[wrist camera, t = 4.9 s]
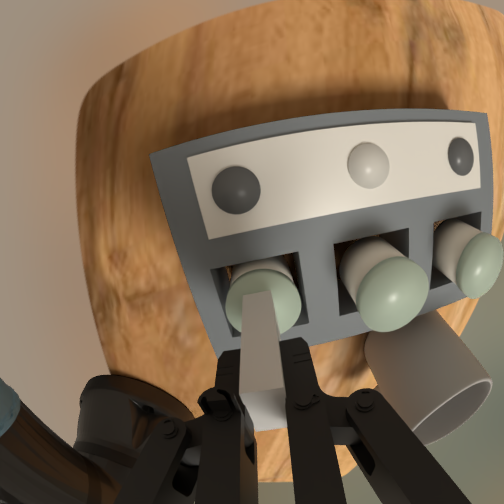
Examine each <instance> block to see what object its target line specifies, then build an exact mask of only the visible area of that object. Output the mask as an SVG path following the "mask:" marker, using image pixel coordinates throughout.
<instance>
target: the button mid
mask: <svg viewBox="0 0 504 504" xmlns="http://www.w3.org/2000/svg"><path fill="white" fill-rule="evenodd" d="M339 273H340V278H341V280H342V282H343V284H344V286H345V287H346V289H347V290H348V292H349V294H350V295H351V297H352V299H353V300H354V302H355V304H356V307H357V310H358V312H359V314H360V316H361V318H362V319H363V321H364V323H365V324H366V325H367V326H368V327H369V328H370V329H372V330H374V331H378V332H390V331H394V330H396V329H399V328H401V327H403V326H404V325H406V324H407V323H409V322H410V321H411V320H412V319H413V318H414V317H415V316H416V315H417V314H418V313H419V312H420V310H421V309H422V307H423V305H424V303H425V301H426V298H427V295H428V290H429V282H428V277H427V275H426V273H425V271H424V270H423V269H422V268H421V267H420V266H419V265H418V264H416V263H415V262H414V261H413V260H411V259H409V258H407V257H405V256H404V255H403V254H402V253H400V252H399V251H398V250H397V249H396V248H394V247H393V246H392V245H391V244H389V243H388V242H387V241H386V240H384V239H382V238H380V237H377V236H368V237H363V238H361V239H359V240H357V241H355V242H354V243H353V244H351V245H350V246H349V247H348V249H347V250H346V251H345V253H344V254H343V256H342V259H341V262H340V267H339Z"/></svg>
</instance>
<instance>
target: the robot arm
mask: <svg viewBox="0 0 504 504" xmlns="http://www.w3.org/2000/svg"><path fill="white" fill-rule="evenodd" d="M197 402H198V404H199V406H200V407H201V409H202V410H203V412H204V415H202V416H200V417H198V418H194V417H193V415H192V414H191V412H190V411H189V410H188V409H187V408H186V407H185V406H184V405H183V404H181V403H180V402H179V401H177V400H176V399H175V398H173V397H172V396H170V395H168V394H167V393H165V392H163V391H161V390H159V389H157V388H155V387H153V386H151V385H148V384H146V383H143V382H141V381H138V380H135V379H131V378H127V377H123V376H117V375H100V376H96V377H93V378H92V379H90V380H89V381H88V383H87V384H86V386H85V388H84V390H83V392H82V394H81V397H80V408H81V410H80V415H79V421H78V429H77V438H76V441H75V444H74V446H73V448H72V447H71V446H70V445H69V444H67V443H66V442H65V441H64V440H63V439H61V438H60V437H59V436H58V435H57V434H55V433H54V432H53V431H52V430H51V429H50V428H49V427H48V426H46V425H45V424H44V423H43V422H42V421H41V420H40V419H39V418H38V417H37V416H36V415H35V414H34V413H33V412H32V411H31V410H30V409H29V408H28V407H27V406H26V405H25V404H24V403H23V402H22V401H21V400H20V398H19V396H18V394H17V393H16V392H15V391H14V390H13V389H12V388H11V387H10V386H8V385H6V384H5V382H4V381H3V380H2V379H1V378H0V504H194V501H195V504H258V474H257V443H256V439H255V437H254V428H255V430H256V431H265V430H272V429H279V428H285V427H287V428H288V437H289V446H290V455H291V465H292V474H293V484H294V494H295V504H347V503H346V498H345V493H344V488H343V483H342V478H341V474H340V469H339V464H338V460H337V455H336V451H335V446H334V445H346V447H347V448H348V450H349V451H350V453H351V455H352V456H353V458H354V460H355V461H356V463H357V464H358V466H359V467H360V469H361V471H362V472H363V474H364V476H365V477H366V479H367V480H368V482H369V483H370V485H371V486H372V488H373V490H374V491H375V493H376V494H377V496H378V498H379V499H380V501H381V502H382V503H383V504H471V503H470V501H469V500H468V499H467V497H466V496H465V495H464V494H463V493H462V491H461V490H460V489H459V488H458V486H457V485H456V484H455V483H454V481H453V480H452V479H451V478H450V476H449V475H448V474H447V473H446V472H445V471H444V469H443V468H442V467H441V465H440V464H439V463H438V462H437V461H436V460H435V458H434V457H433V456H432V454H431V453H430V452H429V451H428V450H427V448H426V447H425V446H424V445H423V444H422V442H421V441H420V440H419V439H418V437H417V436H416V435H415V434H414V433H413V431H412V430H411V429H410V428H409V427H408V425H407V424H406V423H405V422H404V421H403V419H402V418H401V417H400V416H399V415H398V413H397V412H396V411H395V410H394V409H393V407H392V406H391V405H390V404H389V403H388V401H387V400H386V399H385V398H384V397H383V395H382V394H381V393H379V392H378V391H377V390H374V389H370V388H366V389H360V390H357V391H355V392H354V393H352V394H351V395H350V396H349V397H333V396H330V395H327V394H325V393H324V392H323V391H322V390H321V389H320V387H319V385H318V381H317V377H316V373H315V369H314V366H313V362H312V358H311V354H310V350H309V346H308V343H307V342H306V341H305V340H304V339H303V338H302V337H297V338H292V339H288V340H282V341H281V337H280V330H279V325H278V321H277V316H276V311H275V307H274V302H273V298H272V293H271V290H268V291H263V292H258V293H253V294H248V295H243V302H242V327H241V349H235V350H228V351H223V353H222V354H221V356H220V357H219V359H218V364H217V371H216V379H215V387H213V388H210V389H208V390H206V391H204V392H203V393H202V394H201V395H200V397H199V399H198V401H197Z"/></svg>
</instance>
